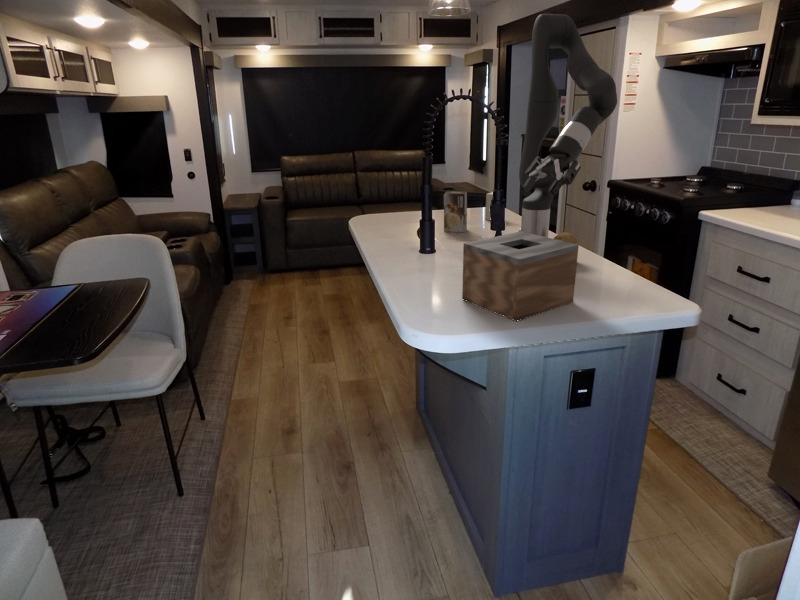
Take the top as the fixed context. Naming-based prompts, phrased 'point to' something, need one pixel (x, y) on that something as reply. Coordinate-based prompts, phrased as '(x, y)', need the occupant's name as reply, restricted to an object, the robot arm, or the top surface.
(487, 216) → the skincare box
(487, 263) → the box
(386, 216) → the top surface
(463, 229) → the coffee box
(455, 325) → the top surface
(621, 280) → the top surface
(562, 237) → the natural sponge
